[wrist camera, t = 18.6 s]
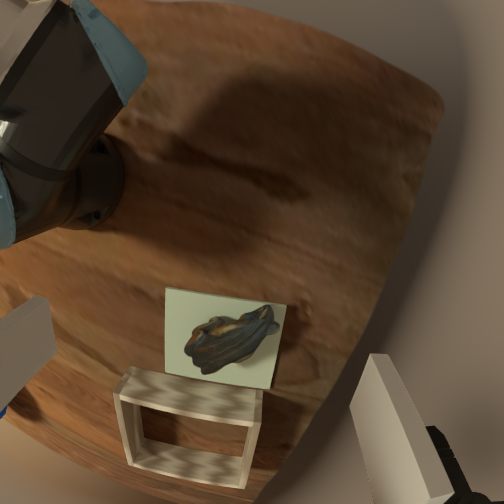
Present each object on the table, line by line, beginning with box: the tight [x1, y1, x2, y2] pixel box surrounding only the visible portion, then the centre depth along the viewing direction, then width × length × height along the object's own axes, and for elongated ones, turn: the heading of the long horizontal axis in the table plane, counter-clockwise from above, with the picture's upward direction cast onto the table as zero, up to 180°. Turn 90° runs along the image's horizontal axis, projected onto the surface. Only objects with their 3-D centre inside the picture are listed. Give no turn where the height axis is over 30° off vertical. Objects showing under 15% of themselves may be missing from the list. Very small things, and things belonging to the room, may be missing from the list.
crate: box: [113, 366, 263, 489], centre depth 50 cm, size 24×22×8 cm
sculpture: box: [184, 304, 280, 375], centre depth 43 cm, size 13×6×7 cm, turn 123°
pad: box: [165, 287, 287, 389], centre depth 48 cm, size 18×16×1 cm
